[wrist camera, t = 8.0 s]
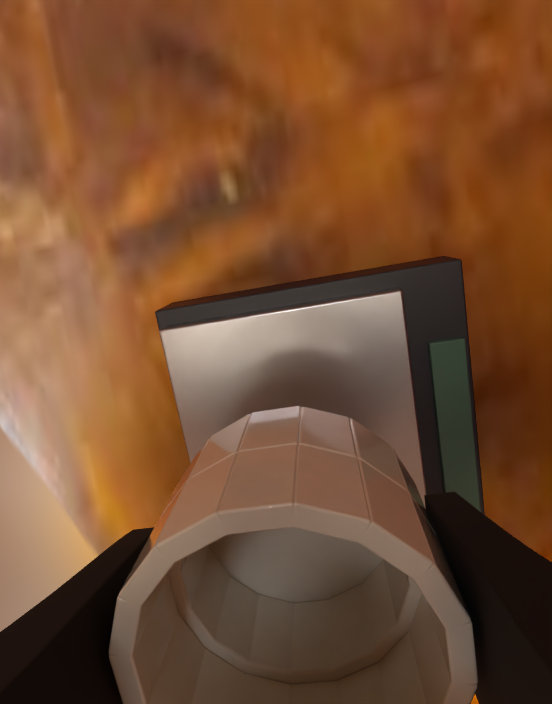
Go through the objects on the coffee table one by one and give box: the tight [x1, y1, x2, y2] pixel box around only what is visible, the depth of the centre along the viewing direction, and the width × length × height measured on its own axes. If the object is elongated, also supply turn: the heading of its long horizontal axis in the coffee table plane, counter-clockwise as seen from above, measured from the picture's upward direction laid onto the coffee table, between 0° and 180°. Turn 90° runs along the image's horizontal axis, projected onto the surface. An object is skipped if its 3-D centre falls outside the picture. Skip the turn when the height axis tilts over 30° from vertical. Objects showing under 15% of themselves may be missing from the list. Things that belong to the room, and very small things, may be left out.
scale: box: [155, 256, 485, 515], centre depth 16 cm, size 9×10×2 cm
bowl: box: [108, 406, 478, 704], centre depth 10 cm, size 6×6×4 cm
